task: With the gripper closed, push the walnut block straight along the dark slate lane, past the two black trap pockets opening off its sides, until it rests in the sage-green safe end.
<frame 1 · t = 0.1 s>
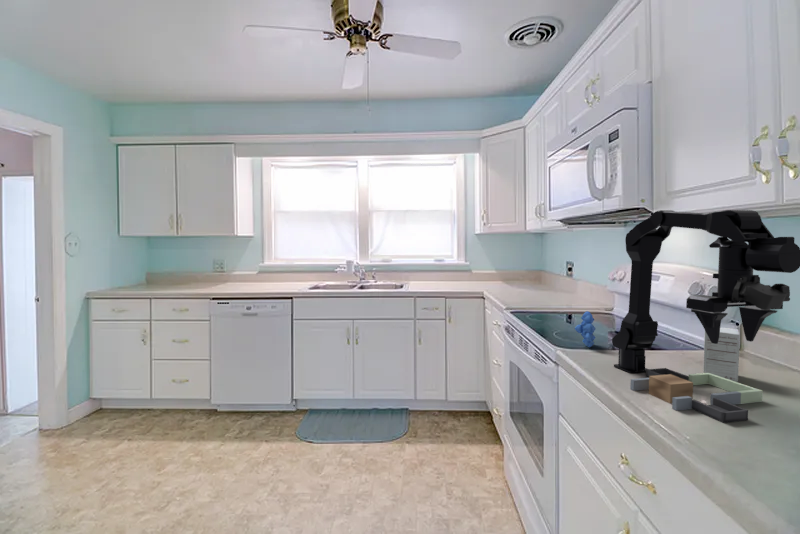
hand: (732, 342, 86), 15 cm above the worktop, tool pointing down, fingers open, 9 cm apart
supplement box: (720, 376, 109), on the worktop
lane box: (695, 394, 95), on the worktop
grapes: (584, 346, 141), on the worktop
walnut block: (670, 398, 94), on the worktop
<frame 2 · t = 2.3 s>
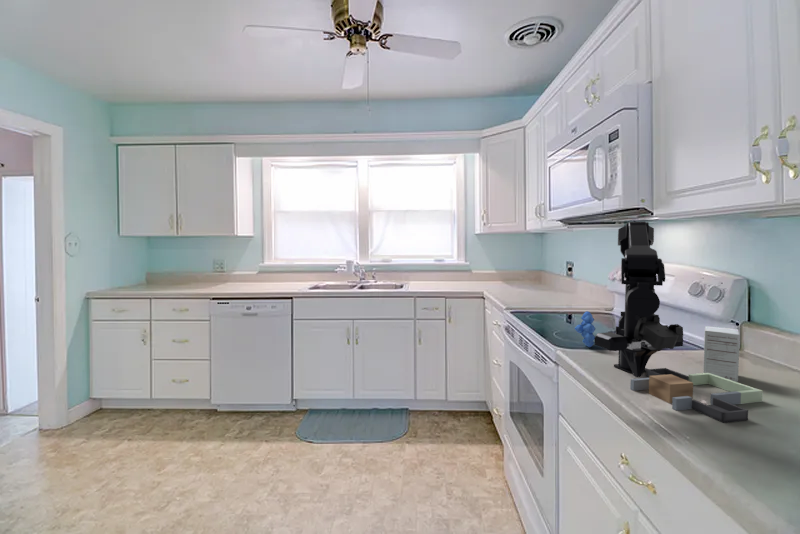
hand: (637, 376, 92), 5 cm above the worktop, tool pointing down, fingers closed
nothing on the worktop moved.
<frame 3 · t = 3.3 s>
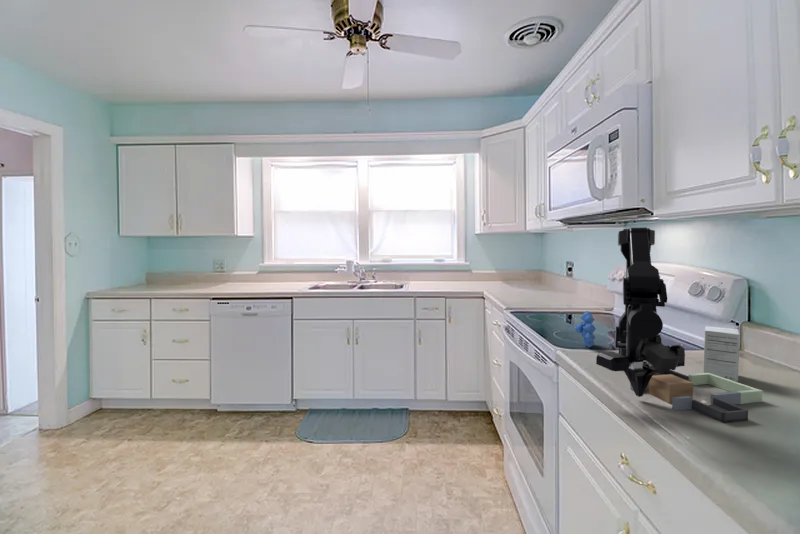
hand: (639, 396, 92), 1 cm above the worktop, tool pointing down, fingers closed
nothing on the worktop moved.
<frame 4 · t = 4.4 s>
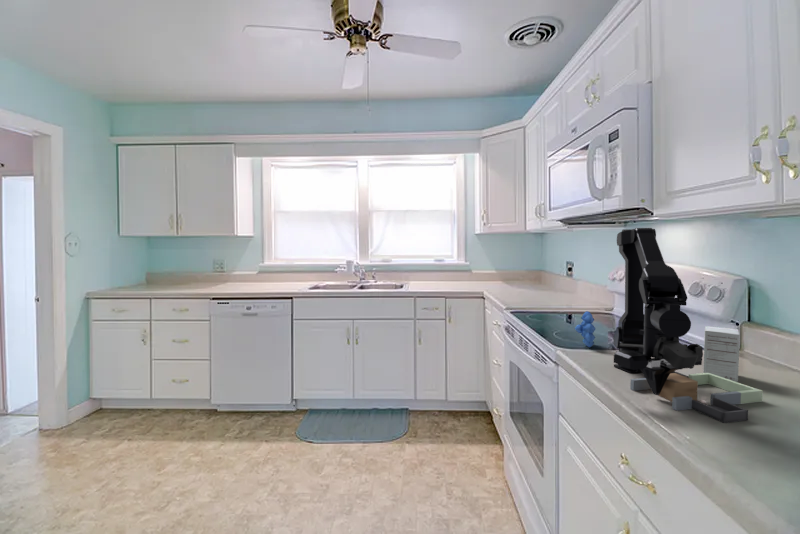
hand: (656, 394, 93), 1 cm above the worktop, tool pointing down, fingers closed
walnut block: (674, 396, 94), on the worktop, touching gripper
everything else where it was.
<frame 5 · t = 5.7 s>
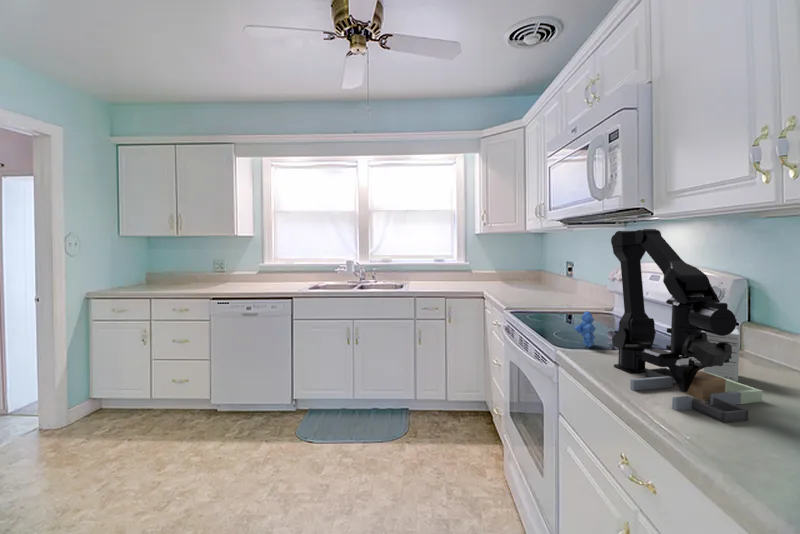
hand: (683, 391, 95), 1 cm above the worktop, tool pointing down, fingers closed
walnut block: (701, 394, 96), on the worktop, touching gripper
everything else where it was.
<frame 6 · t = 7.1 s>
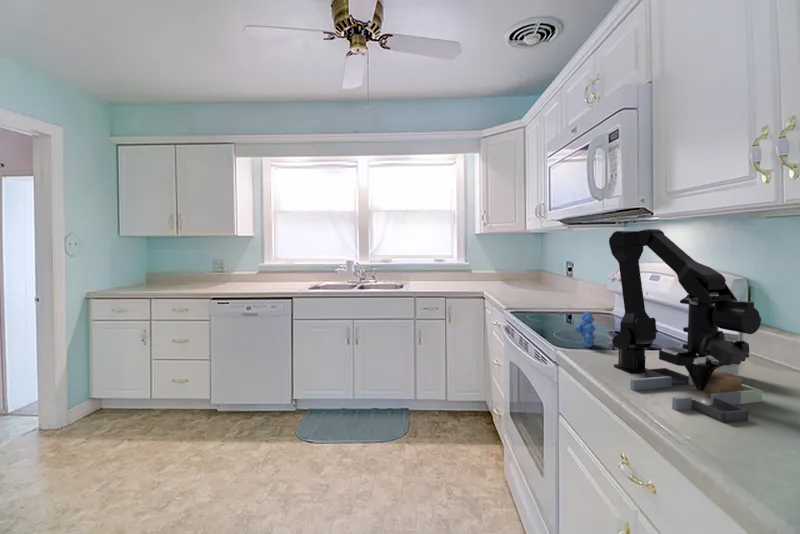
hand: (700, 390, 96), 1 cm above the worktop, tool pointing down, fingers closed
walnut block: (718, 392, 97), on the worktop, touching gripper
everything else where it was.
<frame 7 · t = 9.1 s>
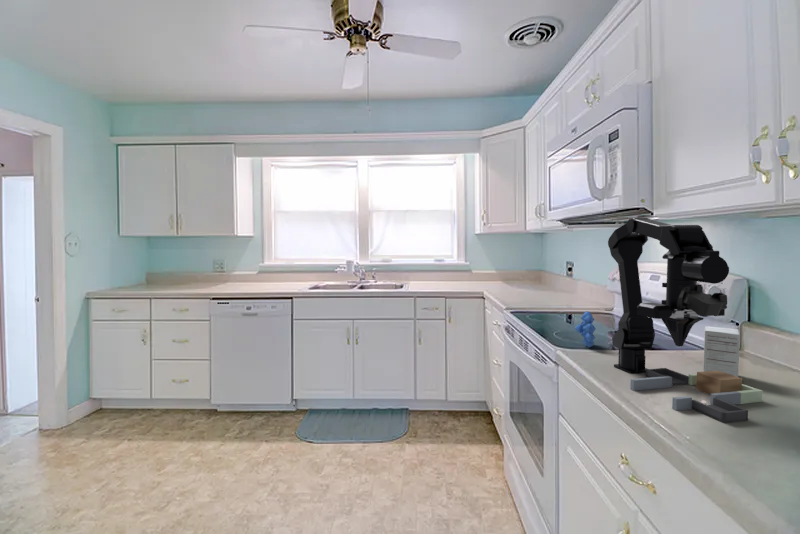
hand: (679, 346, 94), 12 cm above the worktop, tool pointing down, fingers closed
walnut block: (718, 393, 97), on the worktop
everything else where it was.
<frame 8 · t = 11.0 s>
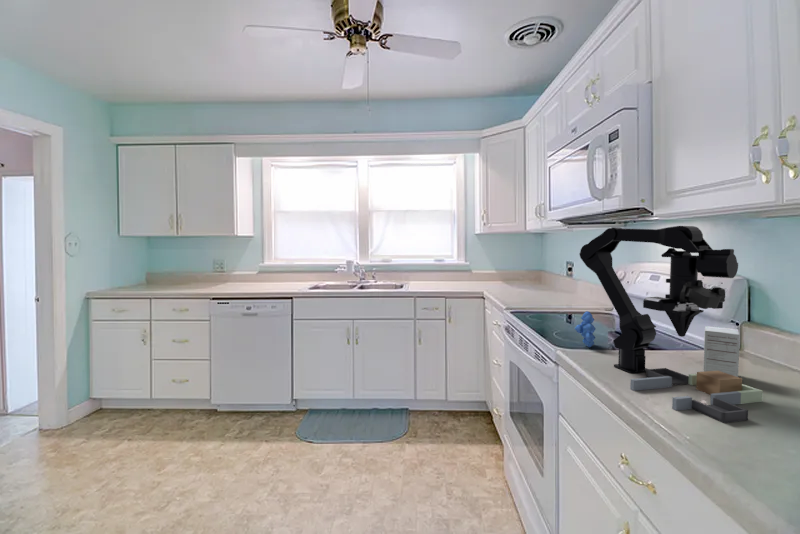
hand: (681, 336, 103), 12 cm above the worktop, tool pointing down, fingers closed
nothing on the worktop moved.
at the end: walnut block 0.1 cm from the target spot, on the worktop; walnut block tilted 0°; walnut block moved 13.5 cm from its start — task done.
